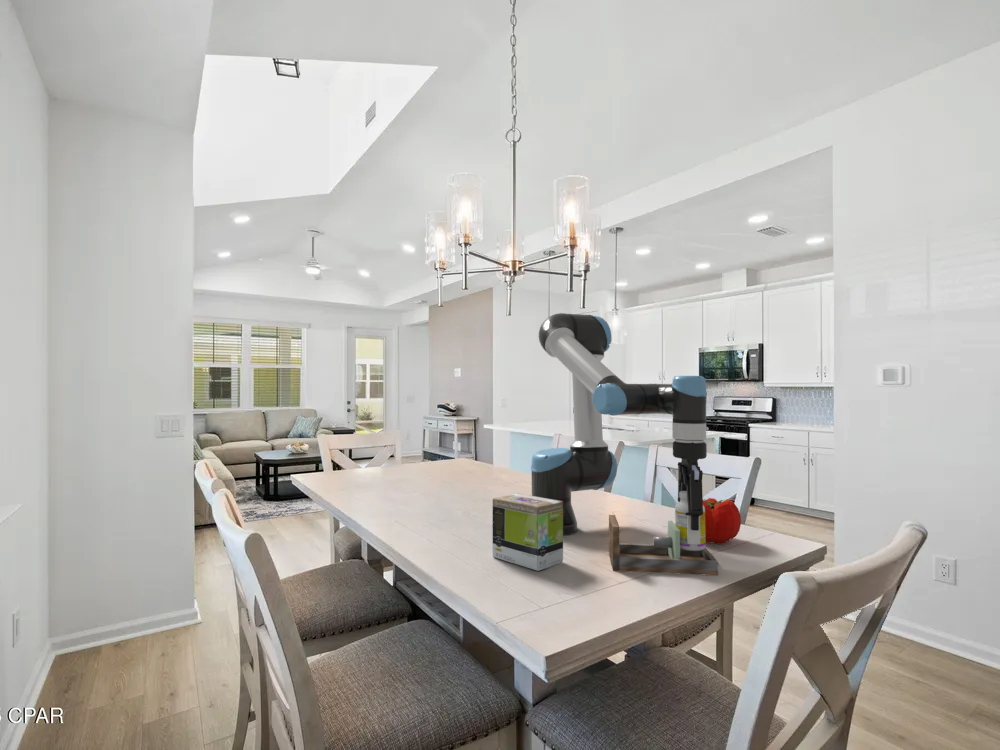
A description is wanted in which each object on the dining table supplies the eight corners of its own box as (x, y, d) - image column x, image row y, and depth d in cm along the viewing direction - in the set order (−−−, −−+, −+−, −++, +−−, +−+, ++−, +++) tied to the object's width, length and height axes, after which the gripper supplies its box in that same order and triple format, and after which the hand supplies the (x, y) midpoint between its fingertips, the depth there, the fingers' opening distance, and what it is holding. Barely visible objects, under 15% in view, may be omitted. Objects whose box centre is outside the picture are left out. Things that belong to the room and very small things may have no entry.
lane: (612, 570, 118) (612, 526, 119) (609, 555, 129) (608, 514, 130) (718, 575, 115) (717, 530, 116) (705, 559, 126) (704, 517, 127)
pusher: (657, 565, 118) (657, 529, 118) (651, 553, 127) (650, 520, 127) (680, 566, 118) (679, 530, 118) (672, 553, 126) (672, 520, 127)
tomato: (747, 541, 142) (747, 497, 142) (726, 552, 132) (725, 506, 132) (700, 531, 151) (700, 490, 151) (677, 541, 141) (676, 498, 142)
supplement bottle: (702, 544, 124) (702, 490, 125) (708, 552, 118) (707, 496, 118) (673, 542, 126) (673, 489, 126) (677, 550, 119) (677, 494, 120)
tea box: (564, 562, 124) (564, 500, 125) (537, 572, 117) (537, 507, 117) (518, 548, 135) (518, 491, 135) (490, 557, 128) (490, 497, 128)
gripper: (718, 445, 112) (718, 552, 112) (695, 437, 132) (695, 528, 131) (682, 445, 113) (682, 551, 113) (665, 436, 133) (665, 527, 132)
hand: (689, 538), depth 122 cm, fingers closed on supplement bottle, 7 cm apart
